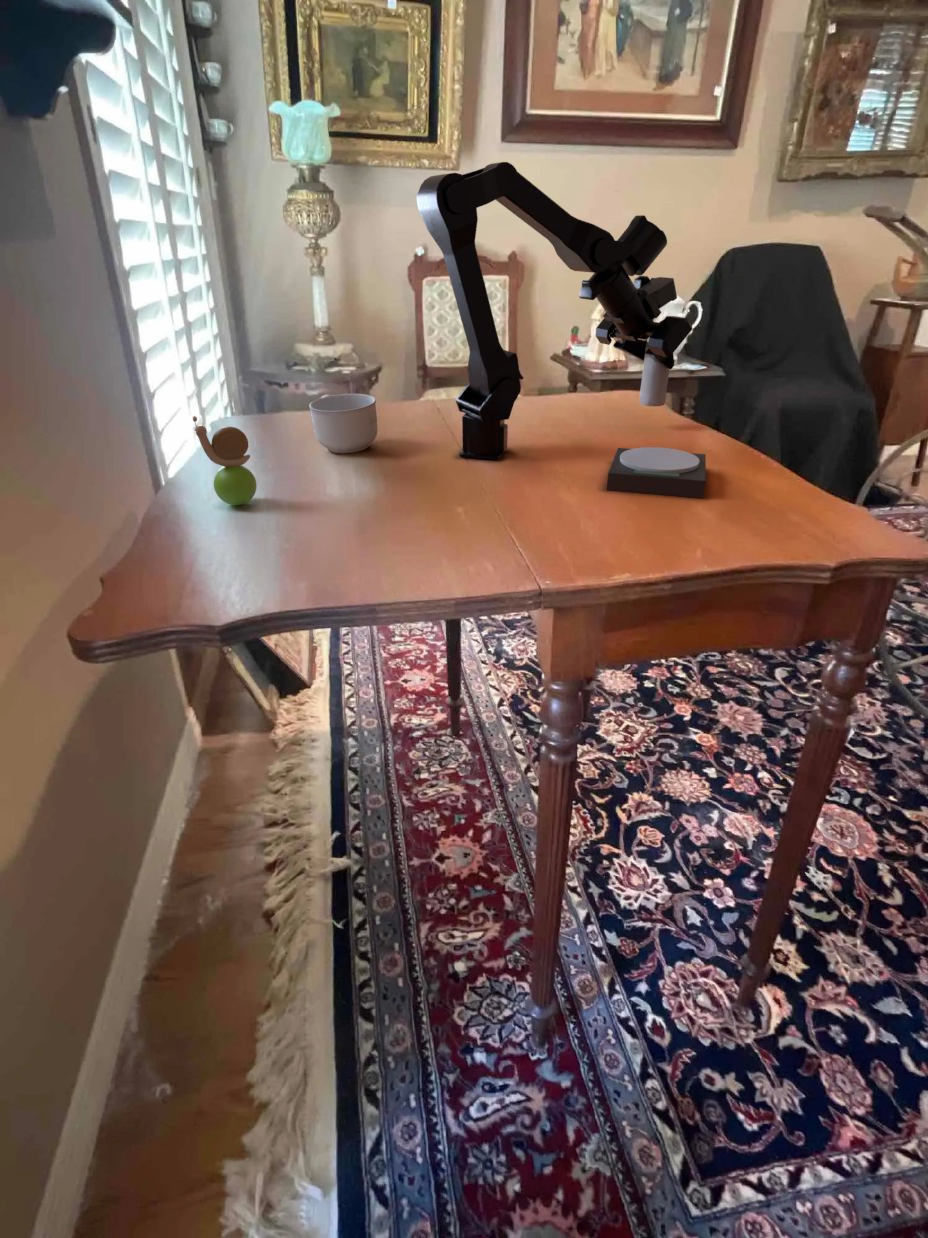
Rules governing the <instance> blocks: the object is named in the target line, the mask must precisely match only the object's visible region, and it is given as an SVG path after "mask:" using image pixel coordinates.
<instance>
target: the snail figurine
mask: <svg viewBox="0 0 928 1238" xmlns="http://www.w3.org/2000/svg"><path fill="white" fill-rule="evenodd" d="M192 421H193V423H194V425H195V427H194V432H195V435H196V436H197V438H198V440H199V443H200V445H201V448H202V450H203V451H204V454H205V455H206V456H207V458H208V459H209V460H210V461H211V462H212V463H214V464H216V465H218V466H221V468H219V470H217V472H216V474H215V475H214V478H213V488H214V489H213V490H214V492H215V493H216V496H217V498H219V499H220V500H221V501H222V502H223V503H225V504H227V505H231V506H243V505H245V504H247V503H249V502H250V501H251V500H252V499H253V497H254V496H255V494H256V492H257V480H256V477H255V475H254V474H253V472H252V471H251V470H250V469H249V468H248V467H246V466H244V464H246V463H247V462H249V459H250V458H251V454H246V453H247V452H248V449H249V440H248V437H247V435H246V434H245V432H243V431H242V429H239V428H238V427H234V426H223V427H220V428H219V429H217V430H216V431H215V432H214V434H213V435H212V438H211V441H210V440H209V437H208V431H207V428H206V427H205V426H204V425H202V424H199V425H197V423H196V422H198V417H197V416H196V415H193V416H192Z"/></svg>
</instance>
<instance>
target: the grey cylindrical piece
mask: <svg viewBox="0 0 928 1238" xmlns="http://www.w3.org/2000/svg"><path fill="white" fill-rule="evenodd" d="M648 343H649V341H647V343H646V349H645V352H646V351H647V350H648V349H649V347H648ZM670 370H671V369H668V368H666V367H665V366H663V365H662V364H660V363H658V362H657V361H655V360H654V359H652V358H651V357H649V356H648V355H646V354H645V357H644V361H643V367H642V375H641V382H640V389H639V390H640V391H639V398H638V403H639V405H642V406H645V407H662V406H664V405H665V403H666V398H667V397H666V396H667V390H668V384H669V378H670V377H669V376H670Z"/></svg>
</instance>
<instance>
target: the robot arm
mask: <svg viewBox="0 0 928 1238" xmlns="http://www.w3.org/2000/svg"><path fill="white" fill-rule="evenodd" d="M494 201H496V202H497V203H499V204H500V205H501V206H503V207H504V208H506V209H507V210H508V211H509V212H511V213H512V214H513V215H515V216H516V217H517V218H519V219H520V220H521V221H522V222H524V223H525V224H526V225H528V226H529V227H531V229H533V230H534V231H536V232H537V233H538V234H540V235H541V236H542V237H543V238H545V239H546V240H548V242H549V243H550V244H551V245H552V247H553V249H554V251H555V253H556V255H557V257H558V258H559V259H560V260H561V261H562V262H563V263H564V264H565V266H566V267H567V268H568V269H569V270H571V271H573V272H582V273H593V274H592V275H591V276H590V277H589V279H588V280H587V279H583V280H582V281H581V288H580V290H579V293H578V294H579V295H578V297H579V299H581V300H588V301H594V300H595V299H597V301H598V303H599V304H600V306H601V307H602V308H603V310H604V311H605V313H604V314H603V315H602V317H603V318H602V320H601V321H600V322H599V324H598V325H597V326H596V328H595V334H594V335H595V336H594V337H595V338H596V339H597V341H598V342H599V343H600V344H603V345H608V346H610V345H611V343H612V341H614V343H613V346H612V347H613V348H614V349H618V350H619V351H621V352H623V353H625V354H628V355H629V356H631V357H634V358H636V359H638V360H640V361H641V362H644V357H645V354H646V355H648V356H649V357H651V358H652V359H654V360H655V361H657V362H658V363H660V364H662V365H663V366H665V367H666V368H668V369H670V370H672V369H673V368H674V367H675V364H676V363H675V357H674V353H675V352H676V350H677V349H678V348H679V347H680V345H682V343H683V342H684V341H685V340H686V338H687V337H688V336H689V334H690V333H691V332H692V331H693V325H692V323H691V322H690V320H689V318H688V317H684V316H683V317H681V316H675V315H666V317H665V318H664V319H662V320H660V321H659V322H657V321H654V319H658V318H659V316H660V315H661V314H662V311H661V308H663V307H665V306H666V305H667V304H669V303H670V302H674V301H676V300H677V299H678V294H677V290H676V284H675V283H676V282H675V279H674V278H673V277H666V276H665V277H663V276H658V277H651V278H650V277H649V276H648V275H644V274H645V272H646V271H648V269H649V268H650V267H651V265H652V264H653V263H654V262H655V260H656V259H657V258H658V257H659V255H660V254H661V253H662V252H663V250H664V249H665V248H666V247H667V245H668V238H667V236H666V234H665V232H664V230H662V229H660V227H659V226H657V225H656V224H654V222H652V221H650V220H648V219H647V217H646V215H641V214H640V215H635V216H634V217H633V218H632V220H630V222H629V225H628V226H627V228H625V230H624V231H623V232H622V234H621V235H620V237H619V238H618V239H616V240H615V238H614V236H613V235H612V233H610V231H607V230H606V229H604V228H602V227H600V226H598V225H596V224H594V223H591V222H589V221H585V220H582V219H579V218H578V217H575V216H574V215H572V214H571V213H569V212H568V211H566V210H565V209H564V208H563V207H562V206H560V204H558V203H557V202H555V201H554V200H553V199H552V198H551V197H550V196H548V195H547V194H546V193H545V192H543V191H542V190H541V189H540V188H538V186H536V184H535V185H534V183H532V182H531V181H530V180H529V179H527V178H526V177H525V176H524V175H522V174H521V172H519V171H518V169H516V167H515V166H514V165H513V164H512V163H511V162H508V161H500V162H493V163H489V164H487V165H485V167H482V168H479V169H477V170H473V171H470V172H466V173H463V174H461V173H458V172H451V173H450V172H449V173H443V174H436V175H430V176H429V177H427V178H426V179H424V180H423V182H422V183H421V184H420V186H419V189H418V192H417V194H416V204H417V209H418V211H419V213H420V216H421V218H422V220H423V223H424V224H425V227H426V230H427V231H428V233H429V235H430V236H431V237H432V239H433V241H434V242H435V243H436V245H437V246H438V248H439V249H440V251H441V254H442V255H443V259H444V262H445V266H446V270H447V273H448V276H449V277H448V278H449V280H450V284H451V288H452V291H453V295H454V297H455V303H456V306H457V309H458V313H459V316H460V320H461V324H462V327H463V330H464V335H465V338H466V342H467V345H468V350H469V355H468V362H467V377H468V384H467V385H466V386H465V387H464V388H463V390H462V391H461V392H460V394H459V395H458V396H457V397H456V398H455V403H456V406H457V409H458V411H459V412H460V413H464V414H463V415H462V416H461V423H462V424H461V427H462V430H461V431H462V434H461V435H462V439H461V440H462V449H461V451H460V452H459V453H458V454H459V455H458V456H459V457H461V458H469V459H470V458H471V459H482V460H495V461H496V460H499V459H500V458H501V457H502V456H503V454H504V453H505V452H506V451H507V449H508V433H509V431H508V429H509V424H507V423H505V421H506V420H507V421H508V420H509V419H510V417H511V414H512V410H513V408H514V405H515V402H516V401H517V400H518V397H519V395H520V394H521V392H522V383H521V381H522V380H524V376H523V374H522V373H521V371H520V365H519V357H518V355H517V353H516V352H513V351H509V350H505V349H504V348H503V346H502V345H501V343H500V339H499V335H498V330H497V326H496V323H495V320H494V315H493V312H492V306H491V304H490V303H491V302H490V299H489V294H488V291H487V286H486V283H485V280H484V279H485V278H484V275H483V271H482V267H481V262H480V259H479V255H478V251H477V247H476V236H477V228H478V218H479V217H478V208H480V207H482V206H486V205H488V204H490V203H492V202H494ZM633 276H637V277H636V278H634V280H632V279H631V278H630V277H633ZM647 342H649V343H648V347H649V349H648V350H647V351H646V352H645V349H646V343H647Z"/></svg>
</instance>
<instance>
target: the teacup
mask: <svg viewBox="0 0 928 1238" xmlns="http://www.w3.org/2000/svg"><path fill="white" fill-rule="evenodd" d="M376 403H377V400H376V398H375V396H372V395H370V394H365V393H340V394H333V395H330V394H323V395H321V397H319V398H317V399H314V400H313V401H311V402H310V403H309V406H308V407H309V411H310V415H311V421H312V426H313V430H314V435H315V438H316V440H317V442H318V443H319V444H320V445H321V446H322V447H324V448H325V449H327V450H328V451H330V452H332V453H335V454H353V453H358V452H362V451H363V450H364V451H365V450H366V449H367V448H368V447H369V446H370V445H371V443H373V442H374V441H375V439H376V438H377V435H378V416H377V406H376Z"/></svg>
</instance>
